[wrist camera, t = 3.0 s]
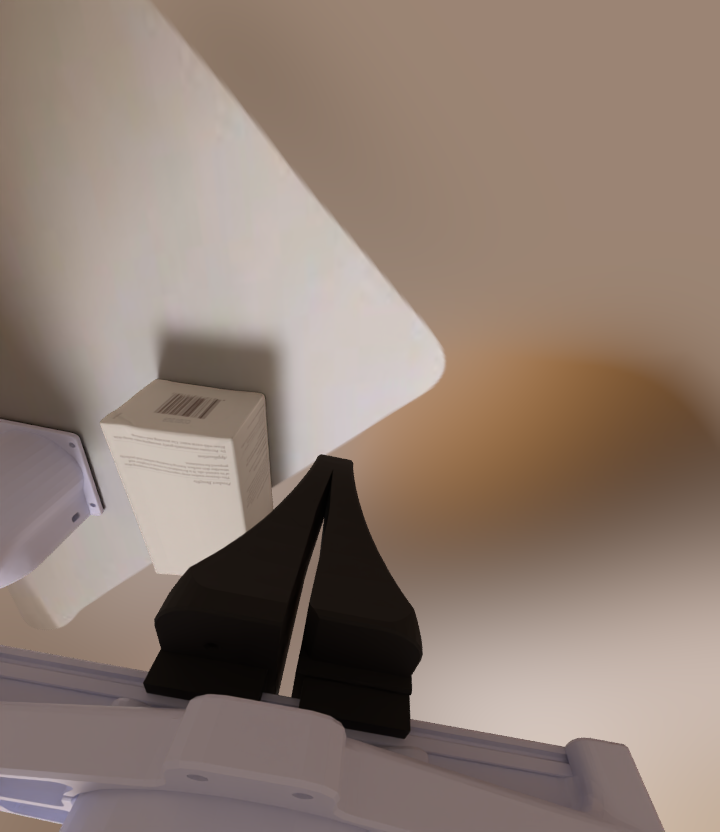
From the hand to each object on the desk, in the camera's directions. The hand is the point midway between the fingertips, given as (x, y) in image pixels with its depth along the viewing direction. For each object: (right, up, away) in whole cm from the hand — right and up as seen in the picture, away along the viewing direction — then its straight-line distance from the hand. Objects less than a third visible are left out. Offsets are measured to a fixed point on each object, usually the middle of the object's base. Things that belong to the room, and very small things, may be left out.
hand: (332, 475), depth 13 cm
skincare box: (-10, +3, +8) cm, 13 cm away
